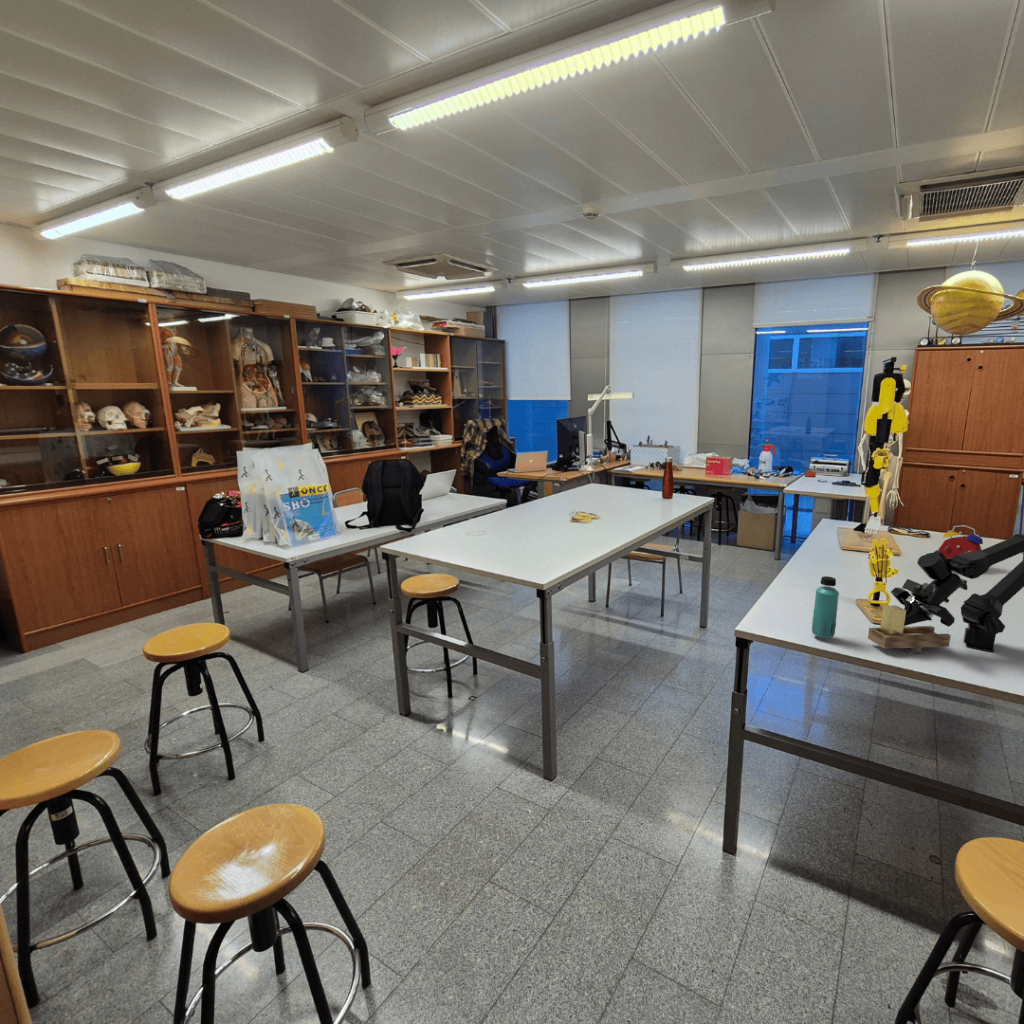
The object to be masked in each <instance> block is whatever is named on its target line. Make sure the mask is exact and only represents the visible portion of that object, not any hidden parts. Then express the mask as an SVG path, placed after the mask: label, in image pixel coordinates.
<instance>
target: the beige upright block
mask: <svg viewBox="0 0 1024 1024" xmlns="http://www.w3.org/2000/svg"><path fill="white" fill-rule="evenodd" d="M905 615H906V610H904V608H902V607H900V606H898V605H894V604H893V605H883V606H882V613H881V618H880V626H879V627H880V632H881V633H882V634H884V635H886V636H889V635H903V629H904V627H905V626H904V622H905Z"/></svg>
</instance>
